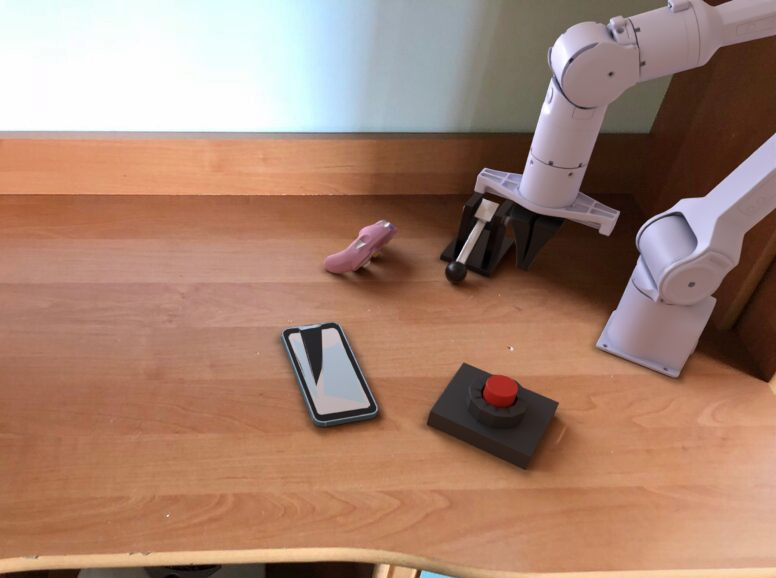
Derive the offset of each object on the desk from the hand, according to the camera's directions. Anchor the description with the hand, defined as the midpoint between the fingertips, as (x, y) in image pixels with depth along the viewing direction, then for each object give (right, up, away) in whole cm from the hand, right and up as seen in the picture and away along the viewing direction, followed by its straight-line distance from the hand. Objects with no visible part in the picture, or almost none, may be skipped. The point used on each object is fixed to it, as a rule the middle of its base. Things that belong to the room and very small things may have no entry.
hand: (524, 265), depth 88 cm
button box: (-5, -17, -3) cm, 18 cm away
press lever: (-2, +4, +15) cm, 16 cm away
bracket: (0, +4, +19) cm, 20 cm away
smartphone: (-22, -12, +1) cm, 25 cm away
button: (-4, -14, -5) cm, 16 cm away
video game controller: (-16, +3, +17) cm, 24 cm away
